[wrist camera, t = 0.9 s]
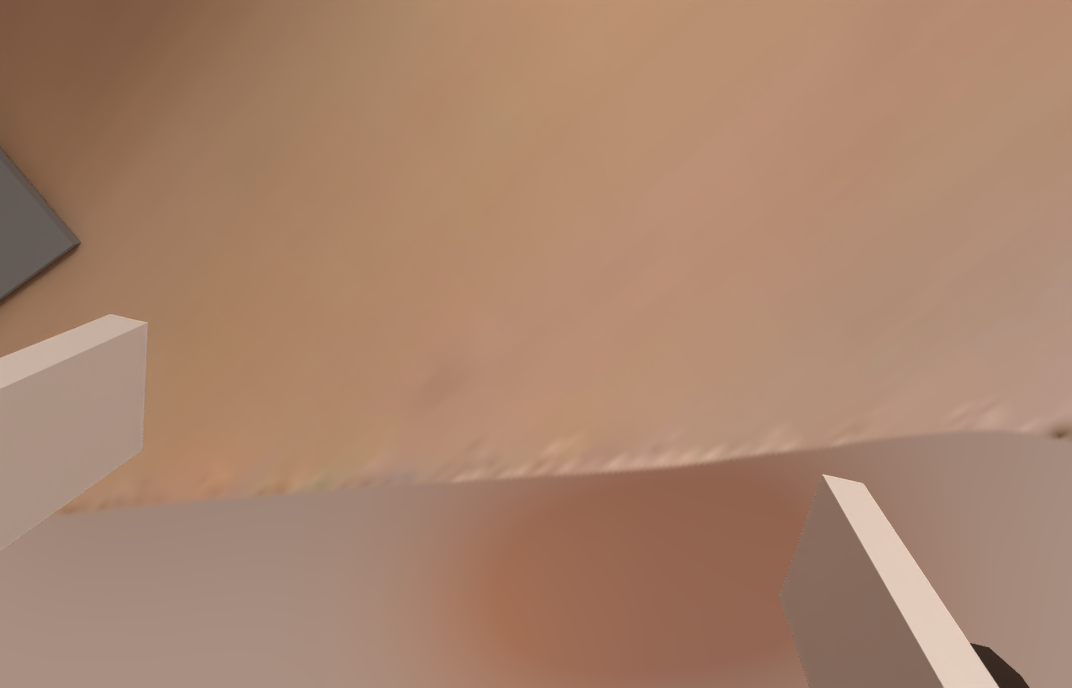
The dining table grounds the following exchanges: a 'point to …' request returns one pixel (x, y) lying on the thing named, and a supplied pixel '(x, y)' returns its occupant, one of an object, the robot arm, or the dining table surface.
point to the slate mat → (26, 230)
